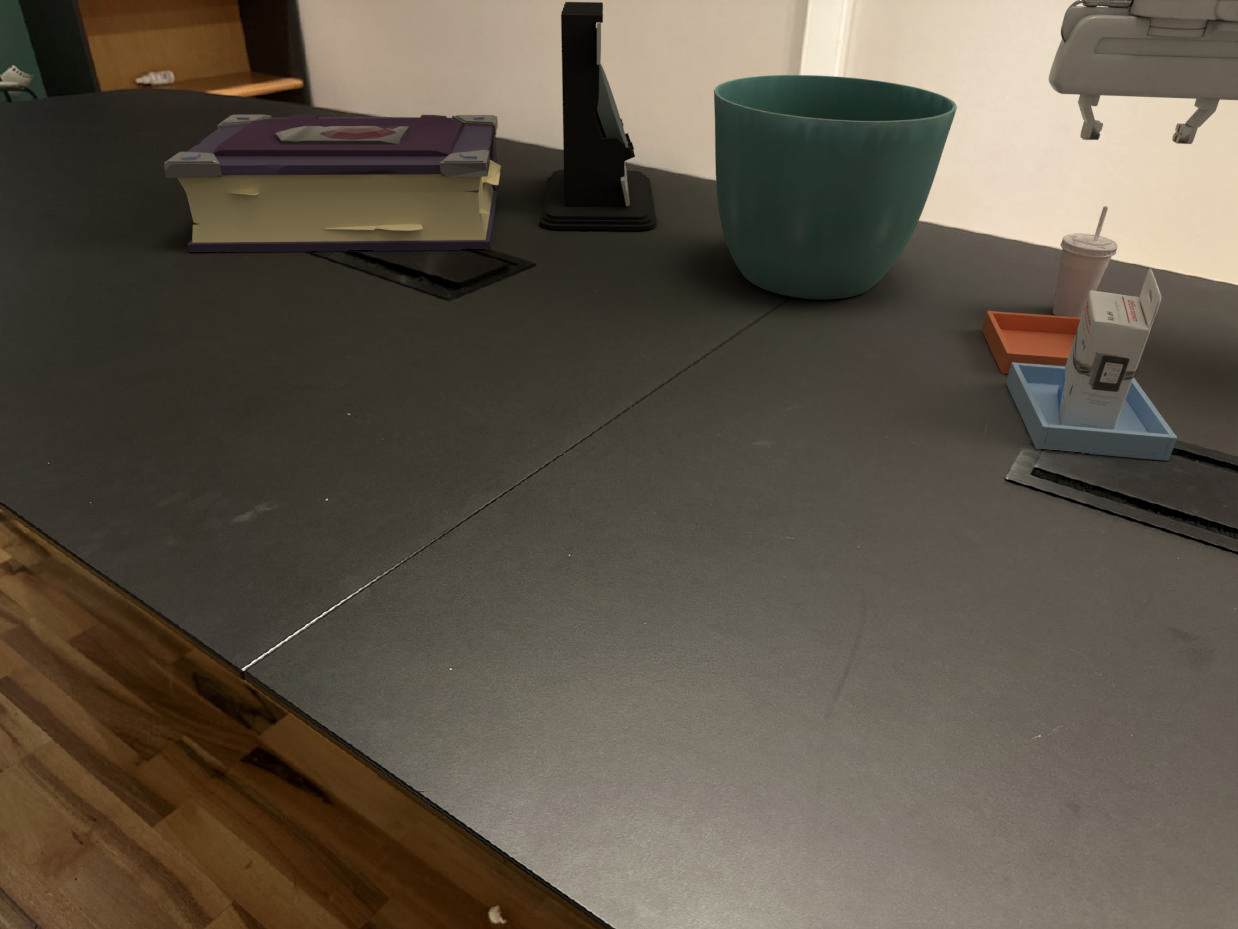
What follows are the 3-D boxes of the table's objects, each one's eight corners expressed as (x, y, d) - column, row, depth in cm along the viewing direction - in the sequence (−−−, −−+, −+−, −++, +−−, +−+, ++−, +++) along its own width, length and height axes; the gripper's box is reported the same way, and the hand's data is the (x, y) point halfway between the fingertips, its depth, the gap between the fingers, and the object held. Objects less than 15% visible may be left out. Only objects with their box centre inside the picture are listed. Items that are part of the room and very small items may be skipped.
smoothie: (1097, 327, 113) (1133, 216, 105) (1042, 319, 115) (1074, 210, 107) (1092, 308, 118) (1126, 201, 110) (1040, 301, 120) (1070, 196, 112)
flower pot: (908, 249, 136) (941, 79, 123) (930, 329, 112) (975, 126, 99) (711, 235, 141) (723, 69, 128) (690, 309, 116) (703, 112, 103)
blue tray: (1121, 392, 98) (1129, 371, 97) (1168, 461, 86) (1177, 437, 85) (1005, 383, 99) (1011, 362, 98) (1035, 449, 88) (1043, 426, 86)
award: (657, 231, 142) (665, 21, 126) (538, 230, 141) (531, 19, 125) (649, 179, 168) (654, -2, 151) (548, 178, 167) (543, -3, 151)
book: (248, 189, 158) (230, 105, 151) (505, 188, 161) (500, 105, 154) (185, 254, 130) (159, 154, 123) (497, 250, 133) (491, 153, 126)
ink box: (1055, 391, 97) (1096, 259, 89) (1105, 400, 95) (1152, 266, 87) (1059, 429, 90) (1104, 289, 82) (1113, 438, 88) (1164, 297, 80)
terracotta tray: (1084, 337, 110) (1091, 318, 109) (1115, 383, 100) (1122, 361, 99) (981, 330, 112) (986, 310, 110) (1001, 374, 101) (1007, 353, 100)
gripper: (1078, -4, 87) (1041, 143, 95) (1304, 1, 85) (1248, 152, 93) (1061, -10, 93) (1027, 130, 100) (1273, -5, 90) (1222, 138, 98)
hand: (1134, 140), depth 96 cm, fingers open, 8 cm apart
